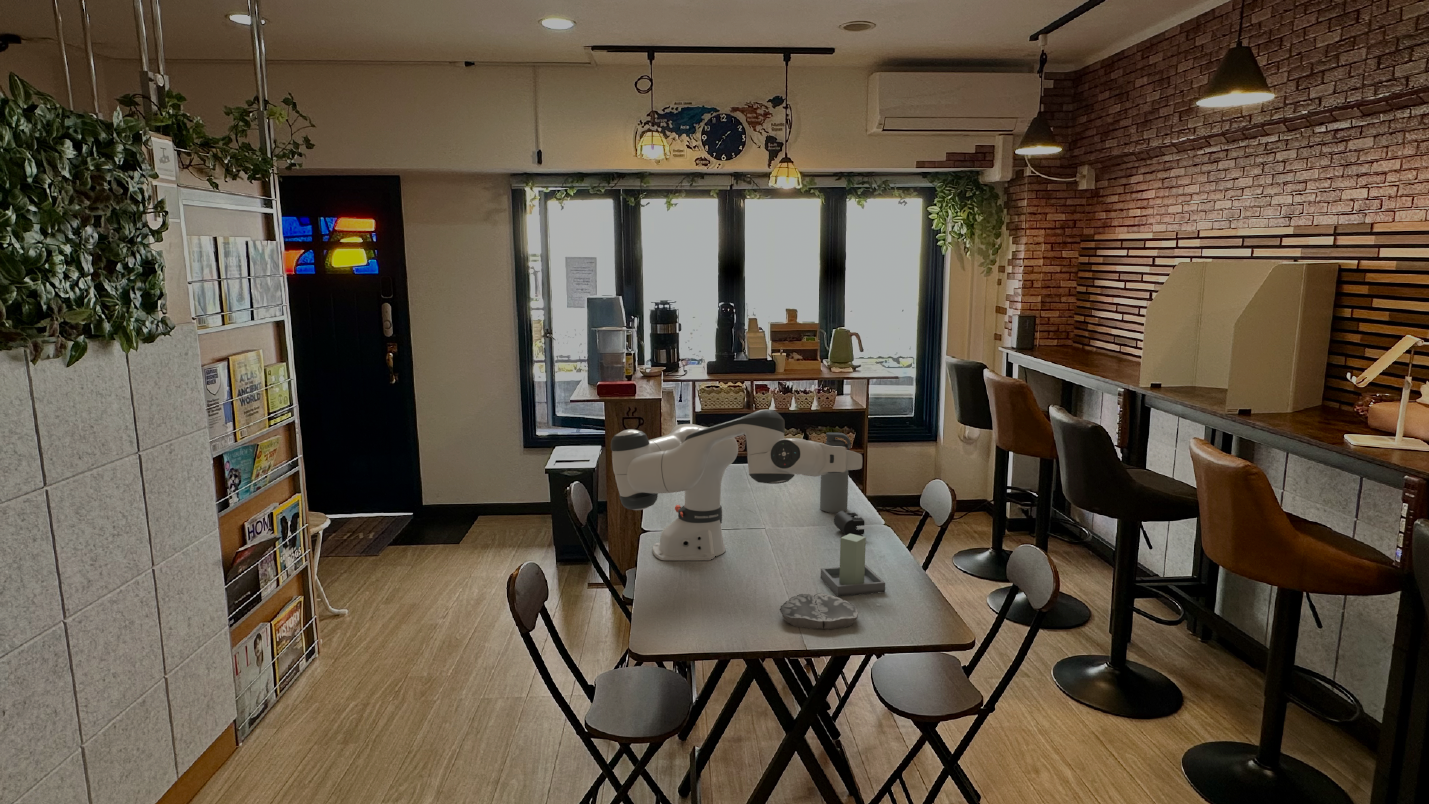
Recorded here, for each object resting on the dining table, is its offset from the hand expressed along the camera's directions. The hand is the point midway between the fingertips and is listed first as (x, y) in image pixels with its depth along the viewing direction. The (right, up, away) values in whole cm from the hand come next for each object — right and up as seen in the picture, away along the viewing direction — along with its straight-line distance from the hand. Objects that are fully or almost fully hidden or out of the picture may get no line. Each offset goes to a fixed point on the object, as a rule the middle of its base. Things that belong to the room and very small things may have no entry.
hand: (834, 462), depth 225 cm
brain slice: (-6, -39, -12) cm, 41 cm away
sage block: (+6, -34, +9) cm, 36 cm away
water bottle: (+11, -23, +79) cm, 83 cm away
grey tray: (+6, -35, +9) cm, 36 cm away
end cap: (+12, -28, +52) cm, 60 cm away
